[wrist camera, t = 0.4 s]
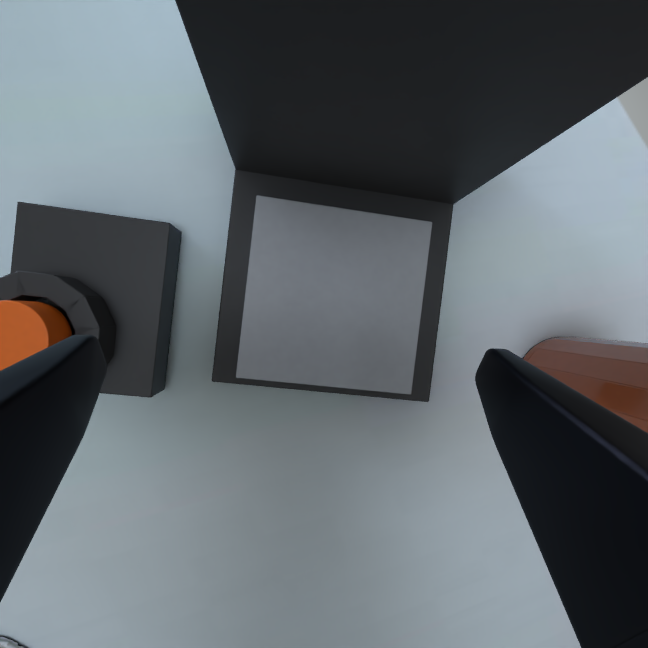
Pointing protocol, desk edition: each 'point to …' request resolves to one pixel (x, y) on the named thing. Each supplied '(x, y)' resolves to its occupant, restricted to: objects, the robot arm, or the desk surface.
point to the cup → (600, 372)
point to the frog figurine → (8, 643)
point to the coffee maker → (379, 162)
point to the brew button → (29, 329)
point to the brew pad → (102, 285)
